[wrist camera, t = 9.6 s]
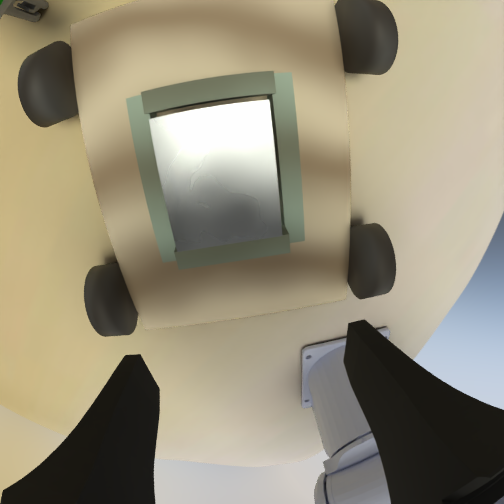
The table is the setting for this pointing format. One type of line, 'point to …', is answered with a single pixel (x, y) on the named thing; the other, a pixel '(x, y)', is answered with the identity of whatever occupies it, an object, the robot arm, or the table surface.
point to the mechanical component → (33, 0)
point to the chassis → (208, 95)
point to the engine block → (218, 174)
